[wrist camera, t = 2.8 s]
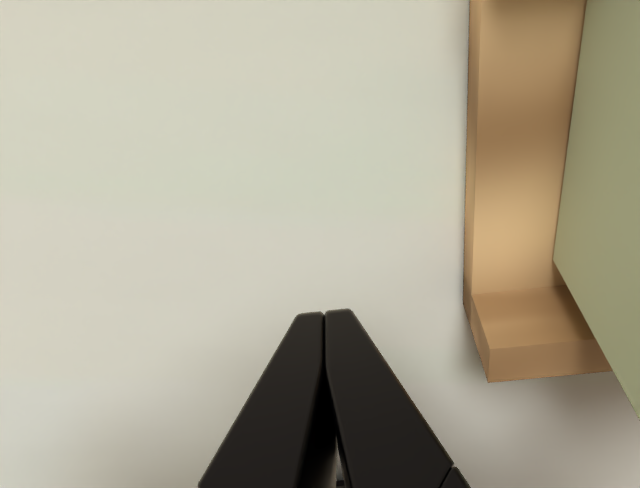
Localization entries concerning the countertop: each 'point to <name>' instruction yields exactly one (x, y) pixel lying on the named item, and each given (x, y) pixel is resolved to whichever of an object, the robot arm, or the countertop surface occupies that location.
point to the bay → (521, 189)
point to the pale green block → (606, 188)
